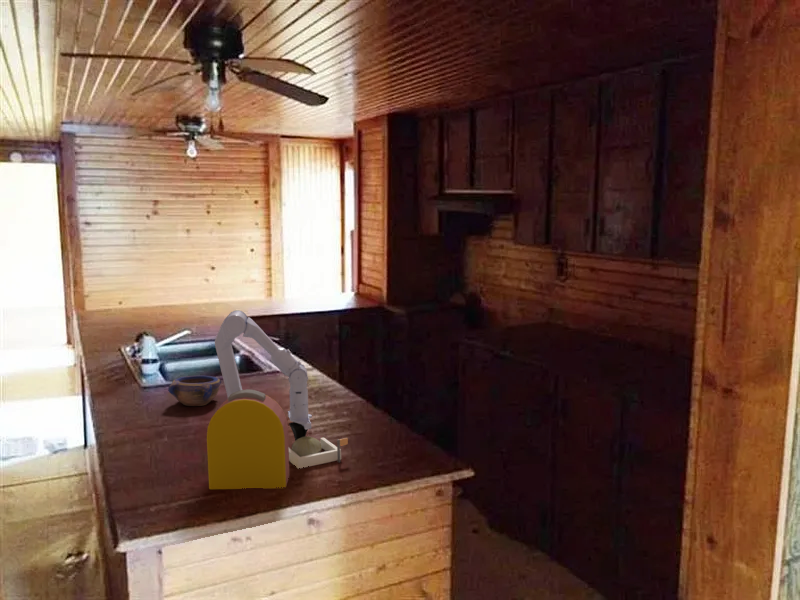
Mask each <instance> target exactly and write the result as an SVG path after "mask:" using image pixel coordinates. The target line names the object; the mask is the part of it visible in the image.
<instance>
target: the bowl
mask: <svg viewBox="0 0 800 600" xmlns="http://www.w3.org/2000/svg"><path fill="white" fill-rule="evenodd" d="M221 384H222V380H221V379H220V378H218V377H217V376H211V375H189V376H188V375H187V376H181V377H178V378H175V379H173V381H172V383H170V384H169V385H168V390H167V391H168V392H169V394H171V395H172V396H173V397H174V398H175V399H176V400H177V401H178V402H179V403H181V404H183V406H187V407H201V406H206V405H207V404H209V403H211V402H212V400H214V398H215V397H216V396H217V395H218V392H219V389H220V386H221Z"/></svg>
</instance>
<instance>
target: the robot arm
mask: <svg viewBox="0 0 800 600" xmlns="http://www.w3.org/2000/svg"><path fill="white" fill-rule="evenodd" d="M242 334H243V335H242ZM241 335H242V337H243V338H252V339H253V340H254V341H255V342H256V343H257V344H258V345H260V347H262V348H263V349H264V351H265V352H267V353H268V354H269V355H270V362H271V363H272V364H273V365H275V367H276V368H277V369H278V370H279V371H280V372H281V373H282V374H283V375H284V376H287V377H288V382H289V389H288V390H289V410H288V411H287V417H288V418H289V421H290V423H288V426H289V427H290V429H291V432H292V433H293V437H294V442H295V441H296V440H297V439H299V438H301V437H305V436H306V435H307V432H308V431H309V430H311V429H312V422H311V420H310V419H312V418H313V417H312V416H313V415H312V414H310V413H309V395H308V394H309V390H308V381H309V377H308V369H307V368H306V367H305V365H304V364H302V362H301V361H300V360H299V361H298V360H297V359H296V358H295V357H294V356H293V355H292V354H291V353H292V352H291V351H290V349H289V348H288V349H286V348H285V347H278V345H277V344H276V343H275V342H274V341H273V340H272V339H271V338H270V337H269V336H268V335H267V334H266V332H264V330H263V328H261V327H260V325H258V324H257V323H256V322H255V320H253V319H252V318H251V317H249V316H248V315H247V314H246V313H245V312H244V311H242V310H233V311H231V312H230V313H229V314H228V315H227V316H226V317H225V318H224V320H223V322H222V323H221V325H220V328H219V331H217V335H216V337H215V339H214V346H215V351H216V354H217V360H218V364H219V367H220V371H221V374H222V375H221V376H222V380H223V384H224V388H225V392H226V396H227V398H228V397H229V396H230V395H231V394H232V393H235V392H237V391H240V390H243V386H242V383H241V379H240V373H239V371H238V366H237V363H236V362H237V361H236V358H235V354H234V349H233V345H232V344H233V343H234V341H235V340H236V338H238V337H239V336H241Z"/></svg>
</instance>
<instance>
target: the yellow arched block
mask: <svg viewBox="0 0 800 600" xmlns="http://www.w3.org/2000/svg"><path fill="white" fill-rule="evenodd" d="M206 431H207V432H206V449H207V451H206V453H207V471H208V473H207V474H208V489H209V490H246V488H263V489H284V488H283V487H285V488H287V485H288V482H289V479H290V461H289V448H290V446H289V423H288V418H287V416H286V413H285V411H284V409H283V408H282V407H281V405H280V404H279V403H278V401H276V400H275V399H274V398H272V397H271V396H269V395H266V393H264V392H261V391H259V390H255V389H248V388H247V389H242V390H240V391H237V392H235V393H232V394H231V395H230V396H229V397H227V399H226V400H224V401H223V402H222V404H220V406H219V408H217V410H216V411H215V413H214V414H213V415H212V417H211V418H210V420H209V423H208V425H207V430H206ZM288 478H289V479H288ZM276 487H277V488H276ZM278 487H279V488H278ZM281 487H282V488H281ZM242 488H243V489H242ZM244 488H245V489H244Z"/></svg>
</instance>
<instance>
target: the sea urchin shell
mask: <svg viewBox="0 0 800 600" xmlns="http://www.w3.org/2000/svg"><path fill="white" fill-rule="evenodd" d="M291 450H292V451H294V452H295V453H296V454H297V455H298V456H300V457H302V456H307V455H312V454H317V453H321V451H322V447H321V443H320V440H319V439H317V438H315V437H312V436H309V435H307V436H305V437H301V438H299V439H297V440H296V441H295V440H294V442H293V443H292V445H291Z"/></svg>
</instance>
